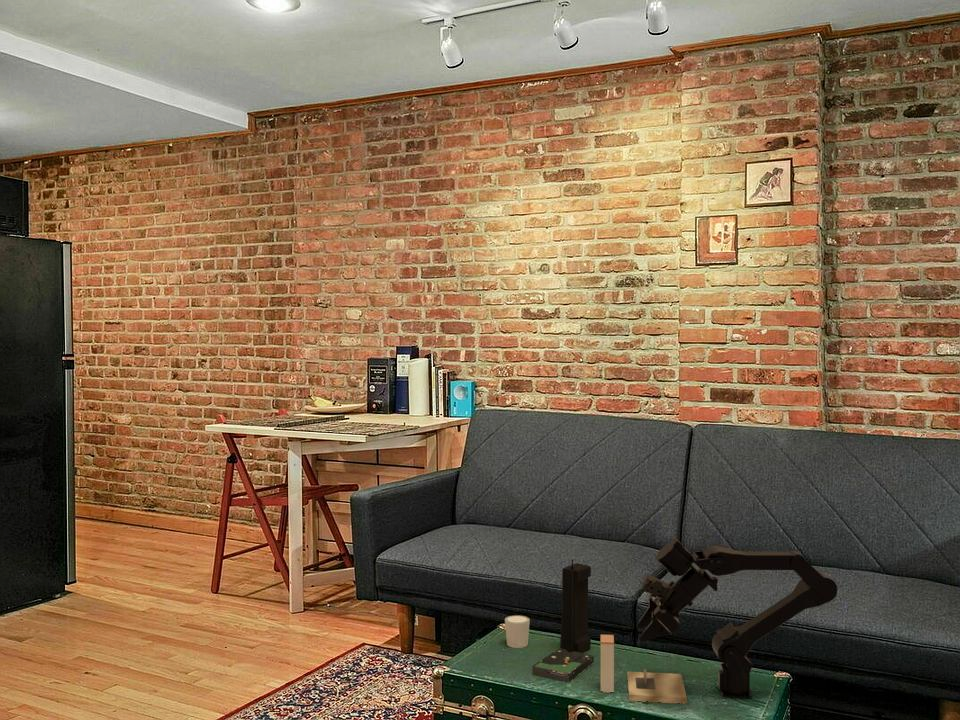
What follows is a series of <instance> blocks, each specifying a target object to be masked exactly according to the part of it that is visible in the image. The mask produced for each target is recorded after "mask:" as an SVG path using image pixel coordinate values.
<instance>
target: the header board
mask: <svg viewBox="0 0 960 720" xmlns="http://www.w3.org/2000/svg"><path fill="white" fill-rule="evenodd" d="M626 673H627V675H626V677H627V679H626V680H628V681H627V688H628V689H627V691H629V692H628V700H629V702H637V701H641V702H642V701H643V703H645V702H646V701H648V702H646V703H657V702H661V703H660V704H662V703H664V704H677V703H680V704H681V703H682V705H687V703H688V701H687V700H688V699H687V694H686V693H687V692H686V689H685V685H684V681H683V677H682V676H683V675H682V674H681V673H670V672H669V673H667V672H648V671H647V669H646V668H643V672H642V671H626ZM680 704H679V705H680Z"/></svg>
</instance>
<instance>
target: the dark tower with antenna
mask: <svg viewBox="0 0 960 720" xmlns="http://www.w3.org/2000/svg"><path fill="white" fill-rule="evenodd" d="M591 569H592V567H591V565H588V564H583V563H579V562H578V563H577V562H575V563H574V559H571V564H570V565H567V566H564V567H563V568H562V571H561V572H562V573H561V575H562V577H561V580H562V582H561V583H562V585H561V589H562V591H561V594H562V595H561V598H562V599H561V600H562V603H561V607H562V608H561V618H560V641H559V648H560V649H565V650H567V651H568V652H574V651H575V652H579V653H582V652H584V651H586V650H587V651H589V650H591V648H592V647H591V644H592V642H591V639H592V638H591V637H590V635H589V577H591V576H592V570H591ZM588 649H589V650H588ZM587 651H586V652H587ZM584 653H585V652H584Z"/></svg>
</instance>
